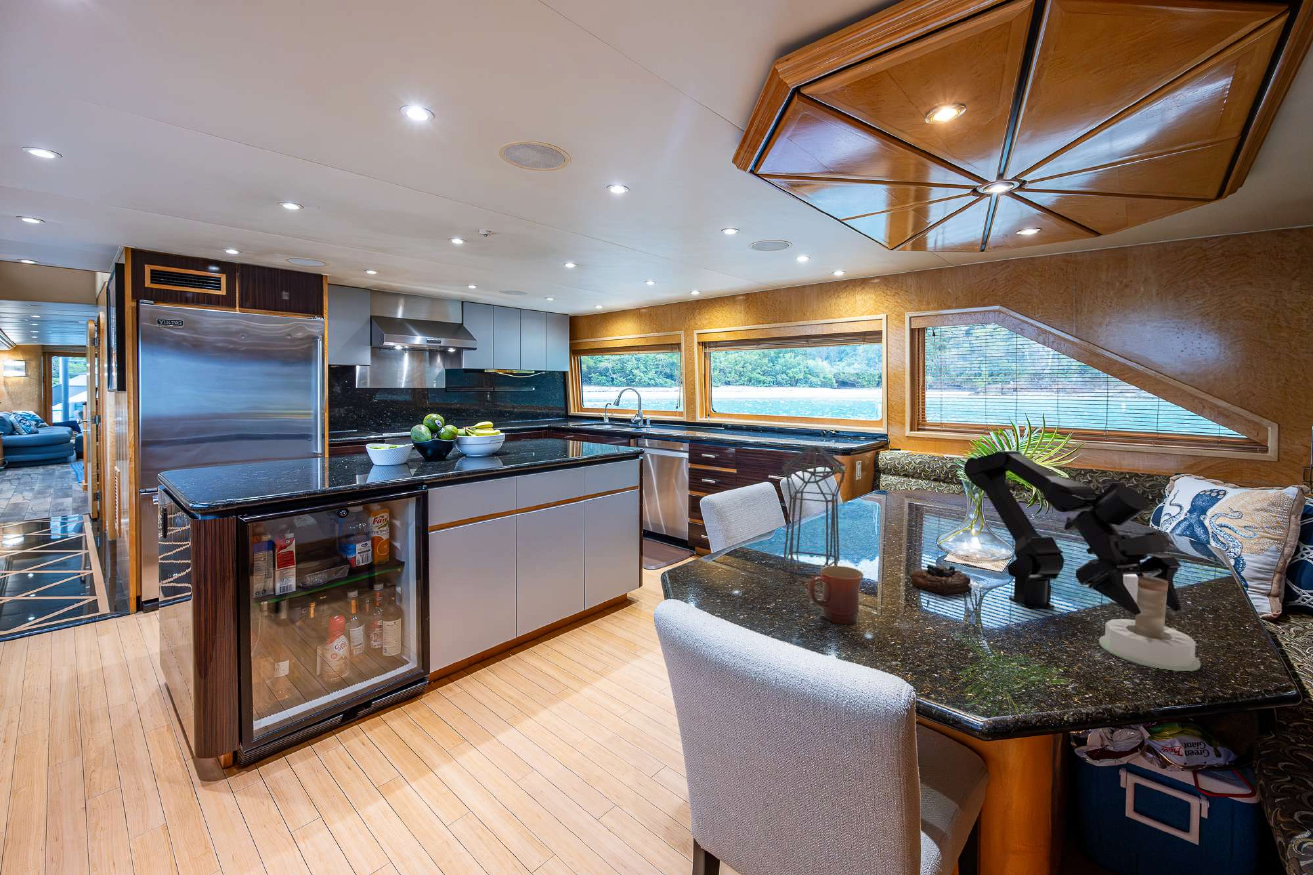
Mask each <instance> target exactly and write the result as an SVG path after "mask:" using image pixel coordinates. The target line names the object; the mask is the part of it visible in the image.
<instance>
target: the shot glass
mask: <svg viewBox="0 0 1313 875" xmlns="http://www.w3.org/2000/svg"><path fill="white" fill-rule="evenodd" d="M1123 583H1124V585H1125V587H1126V588H1127V590H1128V591H1129V593H1130V594H1131V596H1132V597H1133V599H1134V601H1135V602H1136V604H1137V592H1138V576H1137V575H1136V574H1128V575H1123ZM1107 598H1108V597H1107ZM1108 601H1110V602H1112V603H1114V604H1118V603H1116V602H1114V601H1113V600H1111V599H1110V598H1108ZM1118 605H1119V604H1118Z"/></svg>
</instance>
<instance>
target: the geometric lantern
mask: <svg viewBox="0 0 1313 875" xmlns="http://www.w3.org/2000/svg"><path fill="white" fill-rule="evenodd" d="M807 455H808V456H807ZM817 455H818V458H819V459H820V461H821V464H822V465H821V464H817ZM805 456H807V460H806V461H805V462H800V460H801V459H803V458H804V457H805ZM812 456H813V460H812V461H813V463H812V464H809V462H810V459H811V458H812ZM823 457H824V459H825V460H826V461H827V462H828V463H829V464H825V462H824V459H823ZM795 465H796V466H797V467H793V466H795ZM798 467H799V468H798ZM807 467H812V468H813V471H812V470H808V468H807ZM831 467H832V468H833V469H832V470H827V468H831ZM817 468H822V469H823V470H822V471H817ZM846 468H847V465H846V464H845V463H843V462H842V461H841V460H839V459H838V458H836V457H835V456H833V455H831V454H830V453H829V452H827V451H826V450H824V449H823V448H822V447H821V446H818V445H811V446H809V447H808V448H807V449H805V450H803V451H802V452H801V453H799V454H797V455H796V456H795V457H793V458H792V459H791V460H789V461H787V463H786V464H785V465H783V466H782V467H781V469H782V470H783V471H784V474H785V478H786V482H787V488H788V495H789V504H788V505H789V506H788V514H787V523H786V531H785V532H786V533H785V542H784V552H783V558H782V559H783V564H784V565H785V566H786V567H788V568H789V569H790V570H791V571H792V572H793V577H794V578H795V579H798V580H800V576H799V574H801V575H802V574H803V575H812V576H816V577H817V576H821V573H814V572H800V571H798V572H797V570H800V567H801V568H807V569H814V570H815V572H819V571H818V570H820V569H821V568H823V567H827V566H839V561H840V540H839V537H840V536H839V534H840V533H839V513H838V512H839V511H838V510H839V508H838V507H839V504H838V495H839V493H840V489H841V486H842V484H843V483H844V482H843V481H844V480H845V473H846ZM795 471H798V472H799V471H800V472H801V473H802V477H801V476H800V475H799V474H797V472H795ZM805 473H808V474H809V475H810V476H809V477H808V479H807V481H806V478H805ZM837 474H841V476H840V480H839V481H837V484H836V487H835V489H834V491H833V490H832V489H831V487H830V485H829V483H828V481H827V479H829V478H830V477H833V476H835V475H837ZM792 475H794V476H795V477H797V478H798V479H799V480H800V481H802V483H801V485H800V486H799V487H798V489H797V488H796V485H795V483H794V481H793V480H794V479H793V478H792ZM813 477H814V478H813ZM812 478H813V479H814V480H811V479H812ZM816 478H819V479H816ZM790 480H791V483H792V485H793V487H794V490H795V491H793V492H791V486H790V485H791V484H790ZM822 481H824V483H825V484H826V485H827V488H829V491H830V493H829V492H824V491H823V489H822V488H821V486H820V484H819V483H820V482H822ZM808 484H816V485H817V488H818V490H819V491H820V492H813V491H804V490H805V488H807V486H808ZM798 494H800V497H797V496H798ZM804 494H811V495H812V494H817V495H822V496H823V498H824V500H823V499H813V498H803V497H804ZM827 495H829V496H831V499H830V500H829V499H828V498H827ZM797 500H799V501H800V502H799V514H798V515H799V516H798V529H797V538H796V540H797V541H796V542H797V543H796V551H795V550H794V535H795V534H794V530H795V528H794V526H795V515H796V508H797V507H796V506H797ZM803 501H811V502H821V503H822V502H823V503H825V553H819V552H809V551H800V550H799V548H800V537H801V523H802V513H803V509H802V508H803ZM829 503H831V513H830V514H831V518H830V519H831V520H830V539H829ZM790 521H791V530H790ZM789 530H790V539H789ZM789 540H790V541H789ZM829 540H830V541H829ZM788 541H789V548H788ZM829 542H830V544H829ZM787 549H788V550H787ZM787 551H788V553H787ZM794 554H796V559H795V558H794V556H793V555H794ZM798 554H803V555H811V556H821V557H825V563H824V565H823V564H815V563H814V564H812V563H801V562H800V560H799V555H798ZM788 558H790V559H789V561H787V560H788ZM830 558H833V561H832V562H831V563H829V560H830ZM793 562H794V563H793ZM816 570H817V571H816ZM796 575H797V576H796ZM819 582H820V583H819V584H823V582H822V581H819Z"/></svg>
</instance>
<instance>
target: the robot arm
mask: <svg viewBox="0 0 1313 875" xmlns="http://www.w3.org/2000/svg"><path fill="white" fill-rule="evenodd" d="M963 471H964V475H965V476H966V477H967V478H968V480H969V481H970V482H971V484H973V486H975V487H977V488H979V490H982V491H983V492H985V494H986V496H987V498H988V499H989V501H990V503H991V504H992V506H993V507H994V509H995V511H996V512H997V514H998V516H999V517H1000V519H1001V521H1002V522H1003V524H1004V525H1005V528H1006V529H1007V530H1008V532H1009V534H1010V535H1011V537H1012V539H1013V540H1014V556H1015V558H1016V559H1014V560H1013V561H1011V563H1009V564H1008V565H1007V566H1006V567H1007V572H1008V575H1009V576H1010V577H1013V578H1014V587H1013V588H1014V589H1013V590H1014V591H1013V595H1009V596H1008V599H1009V600H1011V601H1013V602H1016V603H1017V604H1019V605H1021V606H1024V607H1025V608H1027V609H1046V608H1047V609H1050V608H1051V609H1052V608H1055V605H1054V604H1053V603H1051V602H1052V601H1051V599H1052V598H1051V597H1052V596H1051V595H1052V584H1051V580H1057V579H1058V577H1059V574H1061V571H1062V570H1063V568H1064V563H1065V557H1064V556H1063V553H1064V551H1063V550H1061V548H1060V547H1059V546H1058V545H1057V542H1056V541H1055V539H1054V538H1053V537H1052V536H1042V535H1041V534H1039V533H1038V531H1037V530H1036V529H1035V527H1034V525H1033V524H1032V522H1031V521H1030V519H1029V518H1028V516H1027V515H1026V513H1025V512H1024V510H1023V509H1022V507H1021V505H1020V503H1019V501H1018V500H1017V499H1016V497H1015V496H1014V494H1013V493H1012V492H1011V490H1010V488H1009V486H1008V485H1007V472H1010V473H1012V474H1013V475H1015V476H1016V477H1018V478H1020V480H1022V481H1024V482H1026V483H1027V484H1029V485H1031V487H1034V488H1035V489H1037V490H1039V492H1040V493H1042V496H1043V498H1044V500H1045V501H1046V502H1047V503H1048V504H1049V505H1050V506H1051V507H1052V508H1053V509H1054V510H1056V511H1057V512H1060V513H1077V515H1075V516H1067V517H1066V522H1065V524H1064V527H1063V528H1064V530H1066V531H1074V530H1075V531H1076V530H1077V532H1078V533H1079V534H1080V536H1081V537H1082V539H1083V540H1084V541H1085V543H1086V544H1087V546H1088V548H1087V549H1085V550H1086V552H1087V554H1088V555H1095V557H1097V558H1095V559H1094V558H1093V559H1091V560H1090V561H1089V560H1088V562H1086V563H1085V564H1084V565H1081V566H1080V567H1079V568H1077V569H1076V570H1075V578H1076V579H1077V581H1078V582H1079V584H1080V585H1081V586H1087V587H1088V589H1090V590H1095V591H1096V592H1097V593H1099V594H1101V595H1103V596H1104V597H1106V598H1110V599H1111V600H1113V601H1114V602H1116V603H1115V604H1117V603H1118V605H1119V606H1121V607H1123V608H1124V609H1125V610H1127V611H1128V612H1130V613H1131V614H1133V615H1135V616H1136V615H1138V614H1140V613H1141V611H1140V609H1139V607H1138V605H1137V604H1136V602H1135V601H1134V599H1133V597H1132V596H1131V594H1130V593H1129V591H1128V590H1127V588H1126V587H1125V585H1124V583H1123V575H1128V574H1136V575H1137V576H1138V577H1139V576H1149V577H1155V578H1160V579H1163V580H1166V581H1168V591H1167V599H1166V607H1169V608H1170V609H1172V611H1174V612H1179V611H1181V610H1182V606H1181V603H1180V600H1179V597H1178V594H1177V591H1176V588H1175V585H1174V577H1175V575H1176V574H1177V573H1178V572H1179V569H1180V568H1182V564H1181V563H1180V562H1179V561H1178V560H1177V559H1176V557H1174V556H1172V555H1167V554H1165V555H1164V554H1163V555H1152V556H1151V557H1149V555H1148V554H1155V553H1167V552H1168V550H1167V549H1168V548H1169V546H1170V543H1171V540H1170V539H1169V538H1167V536H1166V535H1164V534H1163V533H1162V532H1161V531H1160V530H1155V531H1151V532H1145V533H1144V535H1139V536H1135V537H1131V536H1130V535H1128V534H1121V533H1120V532H1119V530H1118V529H1117V528H1116V527H1115V526H1124V525H1126V524H1127V523H1128V522H1130V521H1131V520H1133V519H1134V518H1136V517H1137V516H1138V515H1140V514H1141V513H1143V512H1145V511H1146V510H1147V509H1148V508H1149V507H1150V506H1149V505H1150V504H1149V501H1148V499H1147V498H1146V497H1145V496H1144V495H1143V494H1141V493H1140V492H1139V491H1137V490H1135V489H1133V488H1132V487H1129V486H1127V485H1126V484H1124V482H1123V481H1119V482H1112V483H1111V484H1109V486H1107V488H1106V489H1104V491H1101V493H1099V492H1096V491H1095V489H1094V488H1092V487H1091V486H1089V485H1088V484H1084V483H1082V482H1079V481H1076V480H1072V479H1069V478H1068V479H1067V478H1065V477H1061V476H1059V475H1057V474H1055V473H1054V472H1052V471H1050V470H1048V469H1047V468H1045V467H1043V466H1041V465H1040V464H1038V463H1036V462H1035V461H1033V460H1031V459H1030V458H1028V457H1026V456H1024V455H1023V453H1022V452H1020V451H1018V450H1017V449H1016V450H1015V449H1014V450H1013V449H1012V450H1011V449H1009V450H1007V449H1005V450H999V451H996V452H994V453H992V454H987V455H983V456H979V457H978V456H977V457H970V458H968V459H967V460H966V462H965V464H964V466H963ZM1142 560H1143V561H1142ZM1114 602H1113V603H1114Z"/></svg>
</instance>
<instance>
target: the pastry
mask: <svg viewBox="0 0 1313 875" xmlns="http://www.w3.org/2000/svg"><path fill="white" fill-rule="evenodd" d="M910 578H911V585H912V586H914V587H916V588H918V589H920V590H921V589H922V591H925V592H927V593H929V594H934V595H938V596H942V597H953V595H954V596H958V595H959V594H960V595H963V594H962V593H964V594H971V593H970V591H971V592H972V587H971V586H970V584H971V579H970V577H969V576H967V574H965V573H963V572H962V571H961V569H960V570H959V569H956V566H954V565H950V566H949V567H946V566H944V565H938V566H934V565H932V564H927V566H926V568H919V569H917V570H914V571H913V572H912V574H911V576H910ZM967 592H968V593H967Z"/></svg>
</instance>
